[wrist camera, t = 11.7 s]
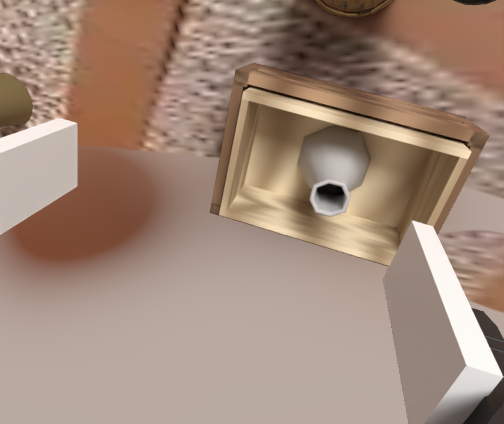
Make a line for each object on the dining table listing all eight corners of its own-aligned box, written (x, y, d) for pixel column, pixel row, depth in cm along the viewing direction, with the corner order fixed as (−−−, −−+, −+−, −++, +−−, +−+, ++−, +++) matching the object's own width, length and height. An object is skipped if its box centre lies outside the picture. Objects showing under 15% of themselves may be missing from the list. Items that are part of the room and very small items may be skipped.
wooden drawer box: (228, 187, 45) (209, 212, 38) (253, 62, 38) (235, 69, 32) (406, 239, 43) (416, 274, 36) (465, 117, 36) (489, 135, 30)
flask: (295, 127, 38) (279, 157, 29) (370, 121, 36) (378, 151, 28) (300, 194, 41) (288, 239, 32) (370, 191, 39) (377, 238, 30)
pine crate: (239, 184, 43) (219, 214, 36) (262, 79, 38) (243, 91, 31) (399, 230, 41) (410, 272, 34) (447, 127, 36) (471, 151, 29)
